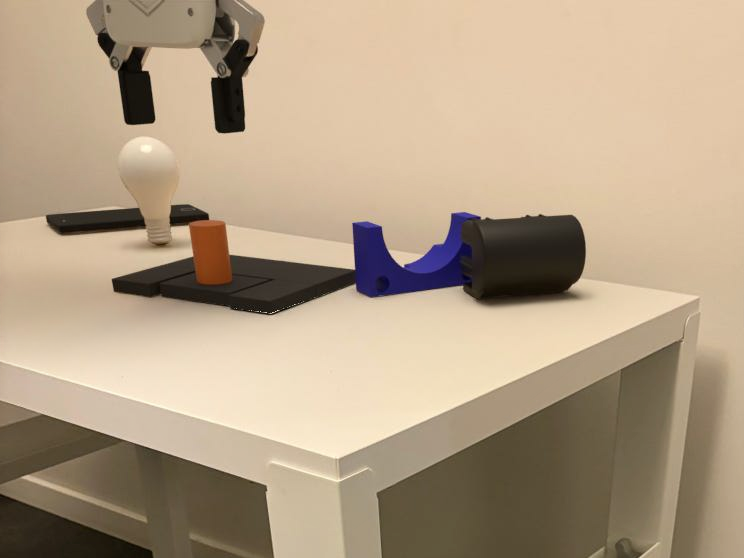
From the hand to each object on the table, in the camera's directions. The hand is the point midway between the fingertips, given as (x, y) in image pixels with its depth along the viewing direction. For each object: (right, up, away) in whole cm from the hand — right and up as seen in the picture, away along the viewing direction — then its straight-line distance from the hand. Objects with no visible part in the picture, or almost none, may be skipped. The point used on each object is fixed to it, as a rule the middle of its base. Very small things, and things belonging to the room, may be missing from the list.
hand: (184, 128), depth 84 cm
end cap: (+29, -11, +9) cm, 32 cm away
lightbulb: (-11, +1, +27) cm, 29 cm away
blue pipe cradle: (+19, -9, +12) cm, 24 cm away
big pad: (+2, -10, +10) cm, 14 cm away
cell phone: (-18, +8, +38) cm, 43 cm away
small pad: (+1, -11, +8) cm, 14 cm away
